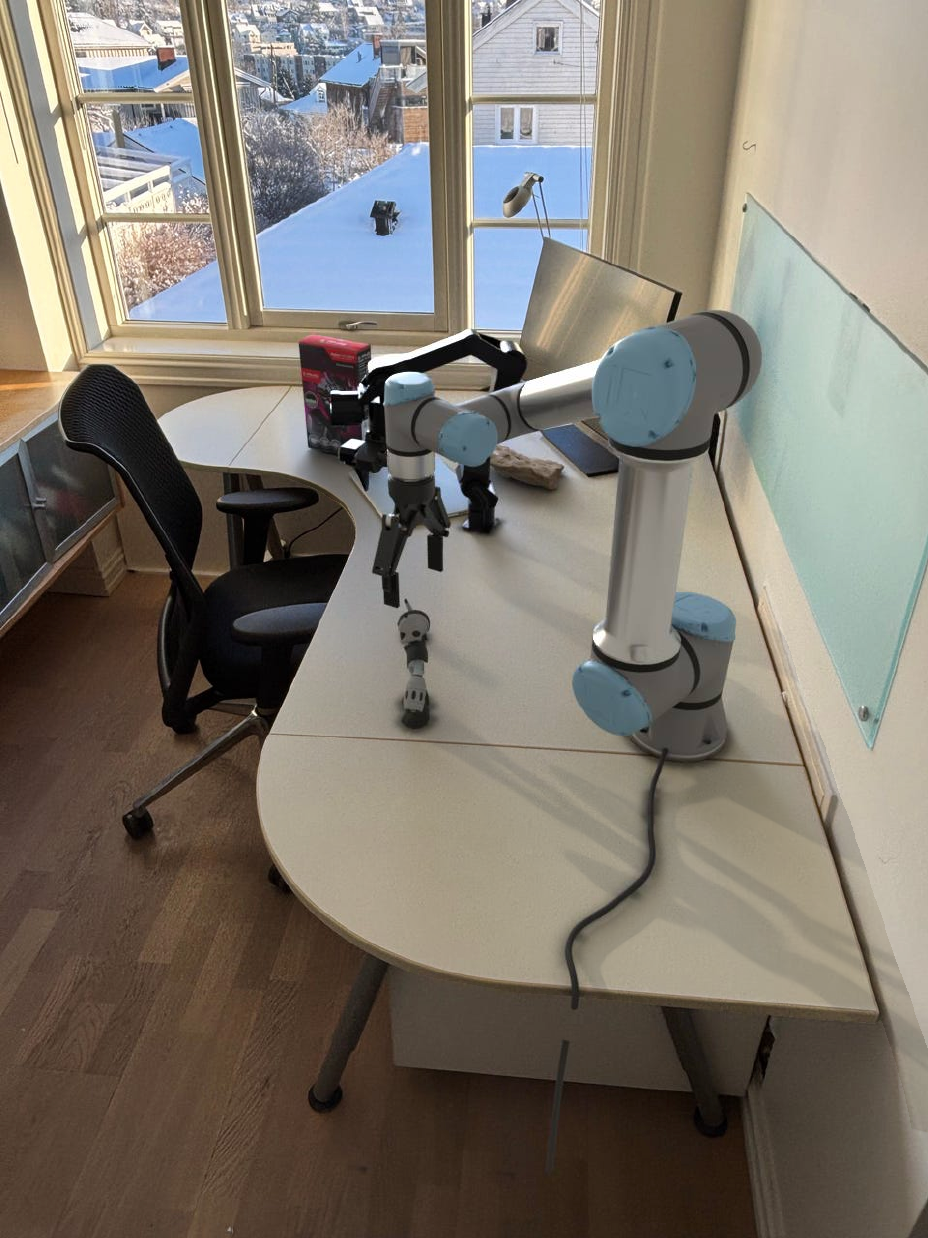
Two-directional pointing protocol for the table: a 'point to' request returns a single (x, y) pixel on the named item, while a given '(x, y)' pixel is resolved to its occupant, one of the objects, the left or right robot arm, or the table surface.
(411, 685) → the robot
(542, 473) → the stone
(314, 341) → the graphics card box
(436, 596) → the table surface
